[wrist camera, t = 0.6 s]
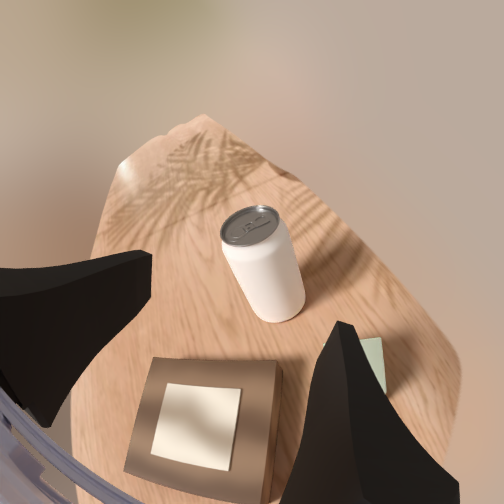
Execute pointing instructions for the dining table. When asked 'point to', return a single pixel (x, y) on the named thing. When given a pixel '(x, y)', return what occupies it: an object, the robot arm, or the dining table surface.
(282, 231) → the can
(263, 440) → the base
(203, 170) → the dining table surface
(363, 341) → the cube
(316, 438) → the robot arm
